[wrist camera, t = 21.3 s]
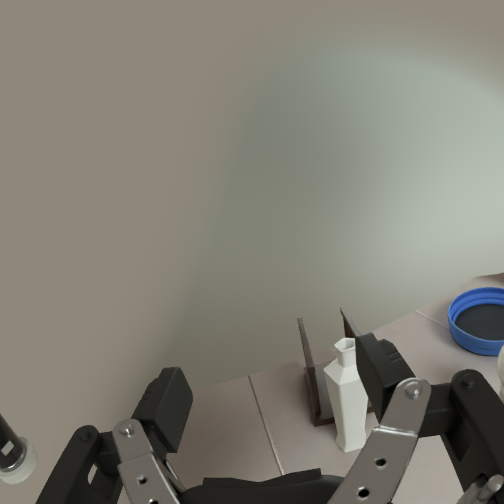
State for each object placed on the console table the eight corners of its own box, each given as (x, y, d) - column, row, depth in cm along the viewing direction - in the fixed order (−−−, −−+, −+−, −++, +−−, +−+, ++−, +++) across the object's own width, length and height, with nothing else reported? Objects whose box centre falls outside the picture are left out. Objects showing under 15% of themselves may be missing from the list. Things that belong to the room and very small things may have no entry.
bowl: (431, 345, 37) (432, 327, 36) (463, 297, 45) (464, 282, 44) (522, 369, 21) (529, 349, 20) (535, 309, 29) (537, 292, 28)
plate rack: (374, 411, 29) (375, 350, 27) (314, 426, 30) (303, 369, 27) (353, 361, 40) (347, 305, 38) (305, 373, 41) (294, 318, 39)
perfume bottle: (334, 427, 29) (322, 332, 25) (368, 425, 27) (368, 327, 24) (329, 455, 24) (316, 362, 21) (367, 453, 23) (370, 357, 19)
